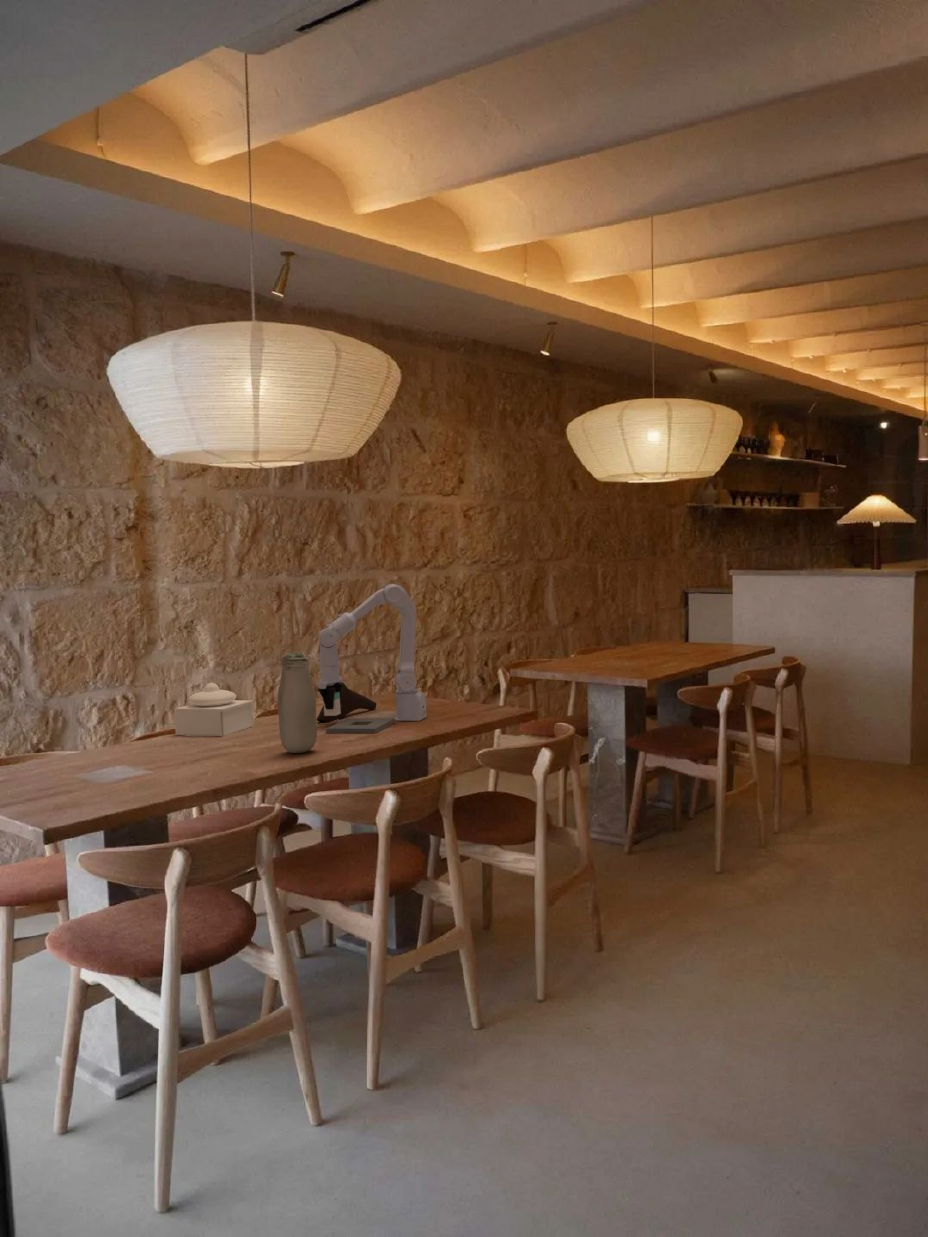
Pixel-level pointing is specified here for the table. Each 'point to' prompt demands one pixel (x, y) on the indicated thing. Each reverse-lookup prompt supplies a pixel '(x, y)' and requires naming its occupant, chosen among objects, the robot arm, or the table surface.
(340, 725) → the port plate
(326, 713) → the plug
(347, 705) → the holster
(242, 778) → the table surface
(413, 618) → the robot arm
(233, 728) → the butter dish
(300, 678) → the glass bottle
